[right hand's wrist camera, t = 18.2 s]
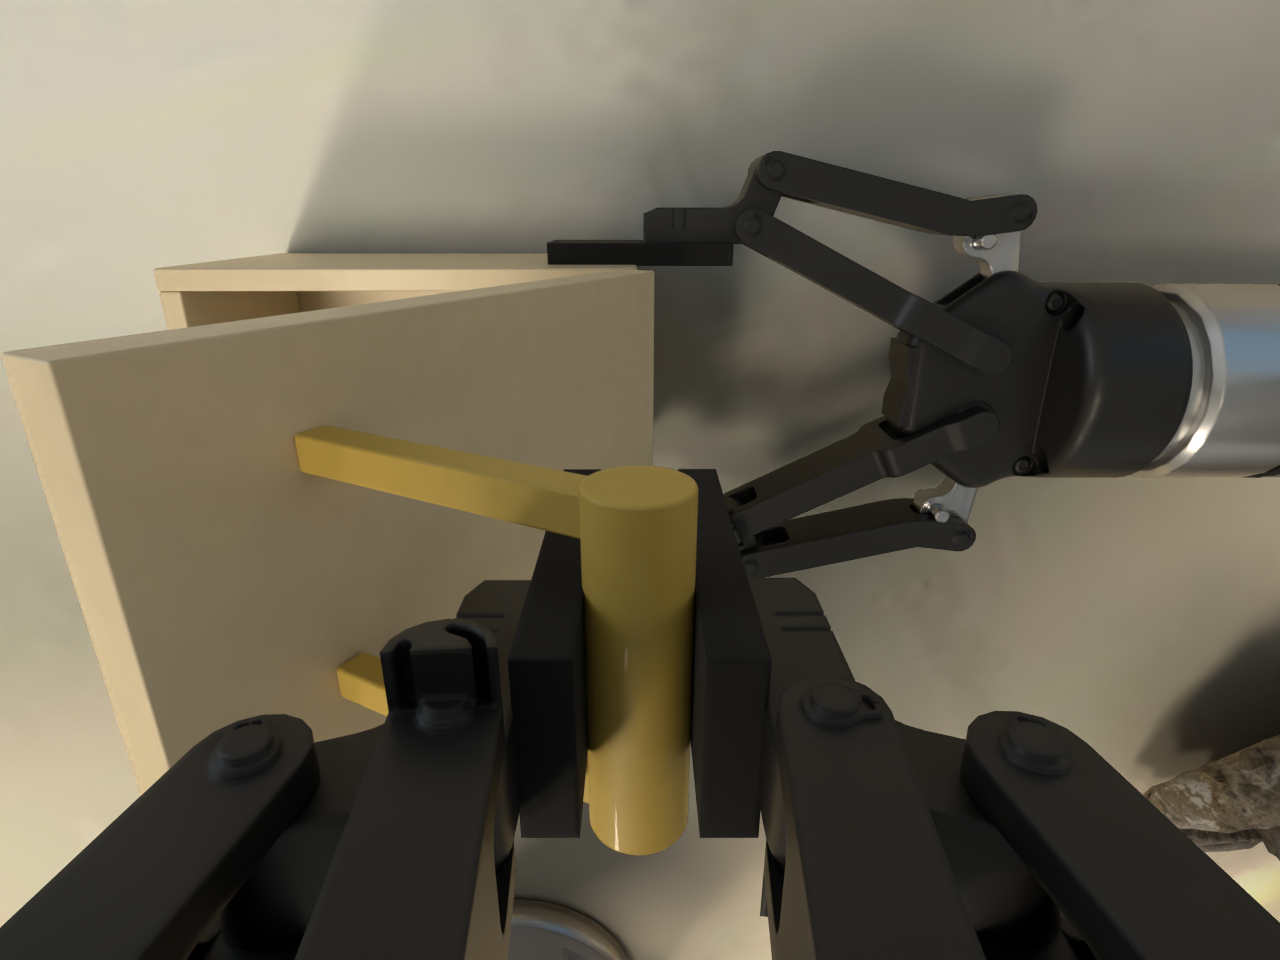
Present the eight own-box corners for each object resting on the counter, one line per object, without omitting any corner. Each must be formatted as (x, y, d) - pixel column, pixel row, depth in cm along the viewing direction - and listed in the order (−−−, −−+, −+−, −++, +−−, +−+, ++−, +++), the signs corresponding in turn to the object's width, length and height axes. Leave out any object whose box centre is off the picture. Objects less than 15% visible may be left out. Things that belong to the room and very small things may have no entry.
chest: (314, 443, 35) (210, 519, 26) (282, 253, 32) (152, 268, 23) (635, 441, 35) (637, 517, 27) (635, 253, 32) (637, 268, 23)
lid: (159, 860, 13) (562, 1137, 9) (-3, 352, 9) (518, 446, 6) (622, 521, 26) (857, 573, 22) (620, 269, 23) (893, 280, 19)
